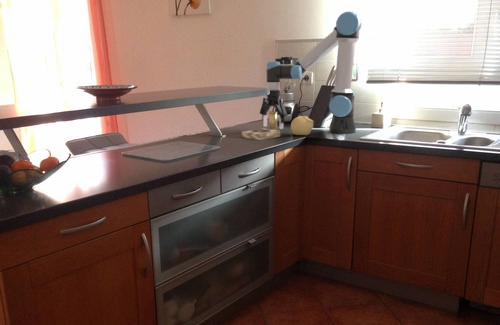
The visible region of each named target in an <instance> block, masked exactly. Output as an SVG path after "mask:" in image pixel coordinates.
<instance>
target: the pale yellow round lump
mask: <svg viewBox="0 0 500 325" xmlns="http://www.w3.org/2000/svg"><path fill="white" fill-rule="evenodd" d="M314 122H315V121H314V120H313V119H311V118H309V116H307V115H298V116H297V117H295V118H294V119H292V121H291V123H290V130H291V132H292V134H293V135H295V136H308V135H309V134H311V131H312V130H313V128H314Z"/></svg>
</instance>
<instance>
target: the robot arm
mask: <svg viewBox="0 0 500 325" xmlns="http://www.w3.org/2000/svg"><path fill="white" fill-rule="evenodd" d="M361 27H362V20H361V18H360V16H359V15H358V14H357V13H356V12H354V11H344V12H342V13H341V14H340V15H339V16H338V17H337V19H336V22H335V27H333V30H332V31H331V33H329V34H328V35H327V36H325V38H323V39H322V40H321V41H319V43H317V44H316V45H314V47H312V48H311V49H310V50H309V51H307V53H305V54H304V55H302V57H300V58H299V59H298V60H297V61H296V62H295V63H293V64H291V65H290V64H289V65H288V64H287V65H283V64H281V62H280V61H268V62H266V90H268V89H270V94H269V95H267V94H266V97H263V99H262V104H261V107H260V110H259V114H261V115H262V117H261V118H262V126H263V128H264V127H265V128H266V127H268V115H267V114H268V113H269V111H270V108H271V107H274V108H275V109H276V112H277V114H278V115H279V118H278V129H279V130H283V129H284V124H285V117H287V116H288V112H287V109H286V106H285V104H284V103H285V102H284V98H280V96H281V90H280V89H281V80H300V79H301V78H302V76H303V74H305V72H306V71H308V70H310V68H312V67H313V66H314V65H315V64H316V63H317V62H319V61H320V60H321V59H323V58H324V57H325V56H326V55H327V54H328V53H330V52H331V51H332V50H333V49H335V48H336V47H337V46H338V47H337V56H336V69H335V80H334V88H333V89H332V90H331V91H330V92H331V93H330V101H329V104H328V108H329V111H330V113H331V114H332V120H331V122H330V124H329V127H328V128H329V132H330V133H334V134H335V133H336V134H353V133H357V132H356V131H357V127H356V123H355V120H354V119H355V118H354V111H355V110H354V108H355V98H356V97H355V92H354V91H353V90H352V81H353V80H352V79H353V68H354V61H355V59H354V58H355V49H356V48H355V47H356V42H358V41H359V40H360V39H359V38H360V30H361Z"/></svg>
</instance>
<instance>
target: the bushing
mask: <svg viewBox="0 0 500 325" xmlns="http://www.w3.org/2000/svg"><path fill="white" fill-rule="evenodd" d="M268 116H269V117H268V118H269V119H268V129H271V130H278V111H277V110H276V111H274V110H273V111H268Z"/></svg>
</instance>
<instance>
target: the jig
mask: <svg viewBox="0 0 500 325" xmlns="http://www.w3.org/2000/svg"><path fill="white" fill-rule="evenodd" d="M277 137H279V138H280V137H281V130H278V129H277V130H271V129H269V128H264V127H263V128H256V129H249V130H244V131H243V130H242V131H241V138H246V139H252V140H259V141H261V140H266V139H267V140H268V139H272V138H277Z"/></svg>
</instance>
